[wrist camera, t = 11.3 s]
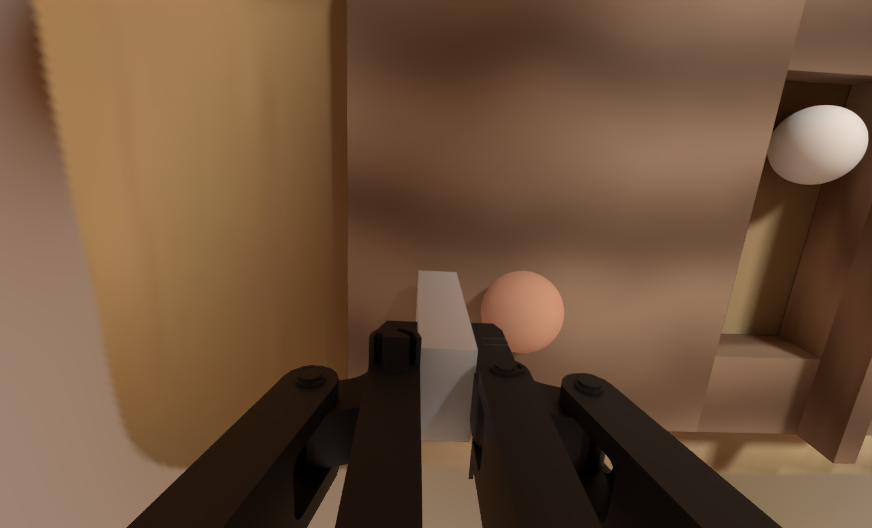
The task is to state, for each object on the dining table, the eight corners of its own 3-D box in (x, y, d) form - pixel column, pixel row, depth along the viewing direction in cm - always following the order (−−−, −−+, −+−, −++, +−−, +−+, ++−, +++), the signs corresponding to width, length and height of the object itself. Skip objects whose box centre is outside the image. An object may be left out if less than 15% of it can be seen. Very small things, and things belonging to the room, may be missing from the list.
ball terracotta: (479, 259, 18) (491, 284, 15) (555, 262, 19) (582, 288, 16) (473, 330, 19) (483, 367, 16) (545, 332, 19) (569, 370, 16)
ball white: (778, 102, 18) (888, 102, 16) (777, 106, 20) (871, 107, 18) (758, 183, 19) (860, 192, 17) (759, 178, 21) (847, 185, 19)
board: (356, -60, 17) (335, -125, 13) (984, -12, 19) (1155, -55, 14) (355, 393, 23) (340, 454, 18) (838, 405, 24) (929, 465, 20)
